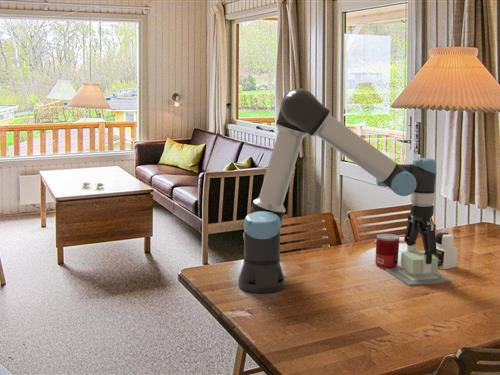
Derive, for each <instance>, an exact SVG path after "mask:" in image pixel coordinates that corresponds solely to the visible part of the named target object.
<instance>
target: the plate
mask: <svg viewBox="0 0 500 375" xmlns="http://www.w3.org/2000/svg"><path fill="white" fill-rule="evenodd" d="M385 271H386V272H387V273H389V274H390V275H392V276H393V277H395V278H397V279H398V280H399V281H401V282H402V283H404V284H405V285H407V286H409V287H412V286H421V285H431V284H433V285H434V284H444V283H452V281H453V280H452V279H451V278H449V277H447V276H445V275H443V274H442V273H440V272H439V271H437V273H423V274H412V273H410V272H409V271H407V270H406V269H404V268H403V267H396V268H389V269H386V268H385Z"/></svg>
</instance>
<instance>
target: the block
mask: <svg viewBox="0 0 500 375" xmlns="http://www.w3.org/2000/svg"><path fill="white" fill-rule="evenodd" d="M423 253H425V250H418V251H417V250H416V251H413V252H408V251H402V252H401V253H400V266H401V267H403V268H404V269H406V270H407V271H409V272H410V273H412V274H423V273H422V270H423ZM401 267H400V268H401ZM438 269H439V268H438V258H437V257H435V256H433V255H432V263H431V273H437V272H438Z"/></svg>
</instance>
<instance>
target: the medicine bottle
mask: <svg viewBox="0 0 500 375" xmlns="http://www.w3.org/2000/svg"><path fill="white" fill-rule="evenodd" d="M435 235H436V249H437V254H433V256H435V257H437V258H438V269H441V270H447V269H454V268H456V267H457V266H458V256H459V254H458V253H459V248H458V247H455V246H453V245H454V235H453V234H451V233H448V232H439V233H435Z"/></svg>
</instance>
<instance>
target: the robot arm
mask: <svg viewBox="0 0 500 375" xmlns="http://www.w3.org/2000/svg"><path fill="white" fill-rule="evenodd" d="M278 112H279V113H278V116H277V119H276V123H275V126H276V127H277V129H278V131H277V134H276V139H275V141H274V144H273V148H272V151H271V155H270V159H269V161H268V165H267V168H266V172H265V175H264V179H263V182H262V184H261V185H262V186H261V189H260V192H259V195H258V197H257V198H255V199H253V201H252V203H251V207H250V209H249V210H250V211H249V214H247V215H246V216H245V218H244V220H243V221H244V223H243V231H244V232H243V238H244V239H243V264H242V267H241V270H240V272H239V276H238V280H237V281H238V282H237V283H238V287H239V288H240V289H241V290H242V291H246V292H248V293H256V294H271V293H275V292H280V291H281V290H283V289H284V288H285V284H286V283H285V282H286V280H285V277H284V276H285V275H284V273H283V270H282V266H281V261H280V260H281V259H280V258H281V229H282V225H283V224H282V223H283V221H284V216H285V214H286V211H287V210H286V208H285V206H284V202H285V199H286V195H287V193H288V189H289V185H290V182H291V179H292V175H293V173H294V169H295V166H296V163H297V160H298V156H299V153H300V150H301V147H302V143H303V140H304V139H305V137H306V136H308V135H309V136H311V137H318V138H320V139H321V140H322V141H323V142H325V143H326V144H327V145H329V146H330V147H331V148H333V149H335V150H336V151H337V152H339V153H340V154H341V155H343V156H345V157H346V158H347V159H348V160H350V161H351V162H352V163H354V164H355V165H357V166H358V167H360V168H361V169H363V170H364V171H365V172H367V173H368V174H369V175H371V176H372V177H374V178H375V182H376V185H377V186H378V187H384V188H389V189H390V190H391V191H392V192H393V193H395V194H396V195H398V196H400V197H407V196H410V203H411V204H410V211H409V212H410V215H408V216H407V224H406V228H405V234H404V239H403V241H404V242H405V243H406V245H407V252H413V251H417V243H416V241H417V239H418V237H419V235H420V236H421V239H422V244H423V251H425V253H423V270H422V273H431V263H432V255H433V254H437V249H436V228H437V225H436V223H433V224H432V222H431V218H432V217H433V216H434V210H435V209H434V208H435V206H434V204H435V192H436V190H435V189H436V178H437V161H436V159H433V158H428V157H417V158H414V159H413V161H412V163H410V164H404V163H403V164H399V163H396V162H395V161H394V160H393V159H391V158H390V157H388V156H387V155H386V154H384V153H383V152H382V151H380V150H379V149H377V148H376V147H374V146H373V144H370V143H369V142H368V141H367V140H365V139H364V138H362V137H361V136H360V135H359V134H357V133H355V131H353V130H351V128H349V127H348V126H346V125H344V124H343V123H342V122H340V121H339V120H338V119H336V118H335V117H334V116H333V115H332V112H331V110H330V109H329V108H327V107H326V106H324V105H323V104H322V103H321V102H320V101H319V100H318V99H317V97H316V96H315V95H314V94H313V93H312V92H311V91H309V90H306V89H305V88H298V87H297V88H294V89H291V90H289V91H287V92H286V93H285V95H284V96H283V97H282V99H281V103H280V109H279V111H278Z"/></svg>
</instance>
